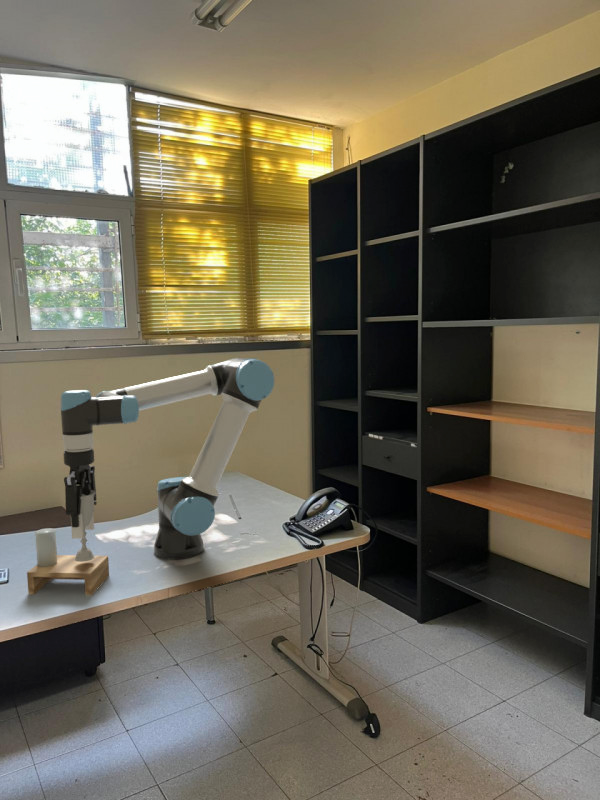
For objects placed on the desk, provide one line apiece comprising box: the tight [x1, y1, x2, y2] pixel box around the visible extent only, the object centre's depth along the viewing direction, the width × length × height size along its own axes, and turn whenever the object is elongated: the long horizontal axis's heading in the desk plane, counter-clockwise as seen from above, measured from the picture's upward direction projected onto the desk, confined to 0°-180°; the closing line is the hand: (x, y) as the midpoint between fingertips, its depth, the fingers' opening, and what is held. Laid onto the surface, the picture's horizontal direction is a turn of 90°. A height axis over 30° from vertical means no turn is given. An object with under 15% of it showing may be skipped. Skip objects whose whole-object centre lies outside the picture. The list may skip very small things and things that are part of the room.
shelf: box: [26, 554, 110, 596], centre depth 160 cm, size 17×12×6 cm
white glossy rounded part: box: [34, 527, 58, 567], centre depth 160 cm, size 5×5×9 cm
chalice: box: [75, 490, 95, 562], centre depth 158 cm, size 7×7×18 cm
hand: (83, 533), depth 158 cm, fingers closed on chalice, 6 cm apart
